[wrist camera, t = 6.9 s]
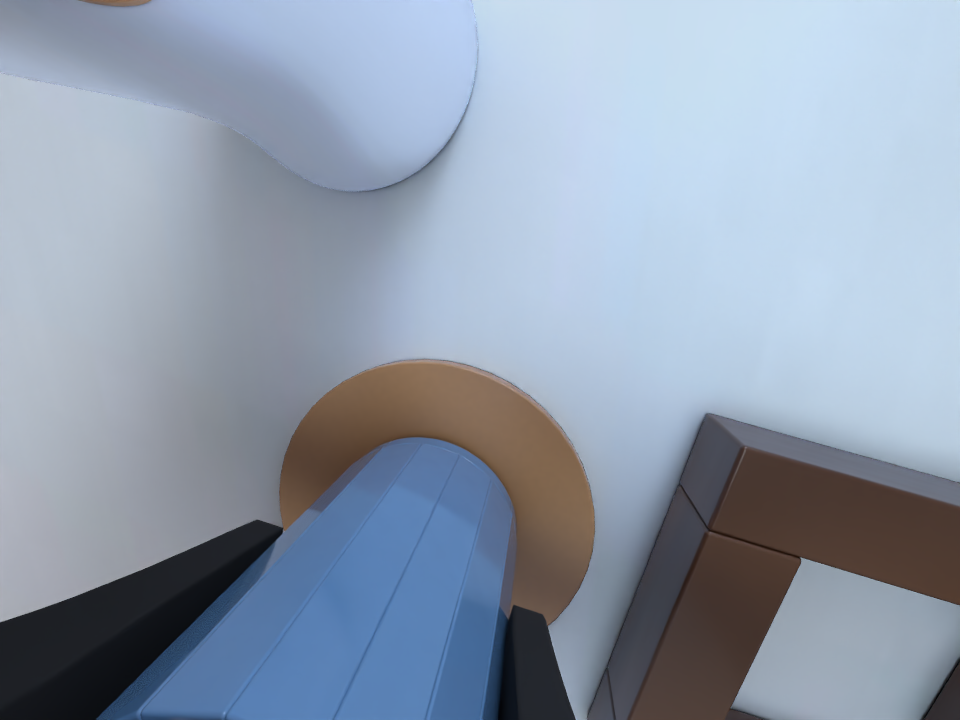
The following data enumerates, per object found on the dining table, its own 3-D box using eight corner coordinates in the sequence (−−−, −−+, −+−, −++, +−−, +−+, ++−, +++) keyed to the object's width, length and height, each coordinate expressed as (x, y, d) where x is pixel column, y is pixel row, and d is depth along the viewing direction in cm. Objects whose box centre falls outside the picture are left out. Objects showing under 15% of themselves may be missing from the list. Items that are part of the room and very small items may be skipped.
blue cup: (490, 627, 12) (409, 1129, 5) (325, 570, 13) (36, 960, 6) (539, 468, 11) (523, 828, 4) (356, 413, 12) (44, 647, 4)
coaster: (541, 687, 13) (541, 699, 13) (267, 592, 14) (260, 601, 14) (639, 413, 11) (642, 418, 11) (311, 320, 12) (303, 322, 12)
